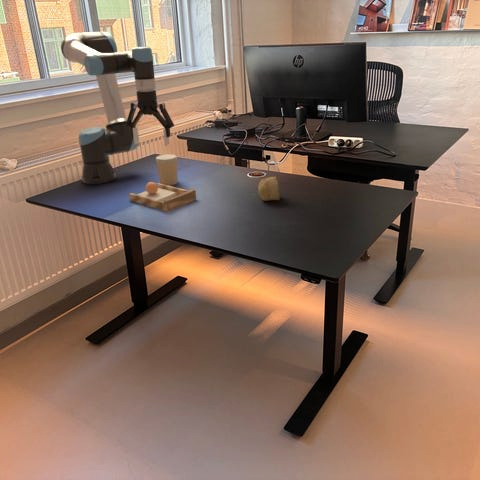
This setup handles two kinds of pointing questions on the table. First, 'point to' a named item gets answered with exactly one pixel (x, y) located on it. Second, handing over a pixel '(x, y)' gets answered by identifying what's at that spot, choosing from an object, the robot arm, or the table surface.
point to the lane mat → (159, 194)
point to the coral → (269, 189)
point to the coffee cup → (167, 169)
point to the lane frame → (168, 204)
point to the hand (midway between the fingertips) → (151, 144)
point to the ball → (151, 188)
